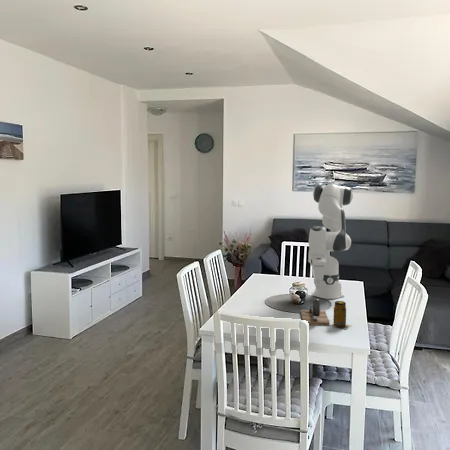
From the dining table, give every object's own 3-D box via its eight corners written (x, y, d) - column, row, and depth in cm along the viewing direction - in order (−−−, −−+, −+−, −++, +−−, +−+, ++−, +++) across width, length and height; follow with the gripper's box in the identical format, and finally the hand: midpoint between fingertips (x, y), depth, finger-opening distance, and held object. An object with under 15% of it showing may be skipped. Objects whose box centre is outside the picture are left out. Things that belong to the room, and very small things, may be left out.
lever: (308, 309, 247) (309, 290, 245) (317, 310, 246) (317, 291, 245) (311, 321, 228) (312, 300, 227) (320, 321, 227) (321, 300, 226)
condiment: (336, 322, 232) (337, 299, 231) (352, 326, 227) (353, 302, 225) (329, 325, 227) (330, 302, 225) (345, 329, 221) (346, 305, 220)
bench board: (300, 312, 248) (300, 310, 248) (325, 313, 247) (325, 310, 247) (303, 324, 228) (303, 321, 228) (329, 325, 227) (329, 322, 227)
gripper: (309, 255, 237) (308, 281, 238) (312, 262, 216) (312, 291, 218) (321, 255, 236) (321, 281, 237) (326, 262, 216) (325, 291, 217)
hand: (316, 286), depth 227 cm, fingers open, 8 cm apart
